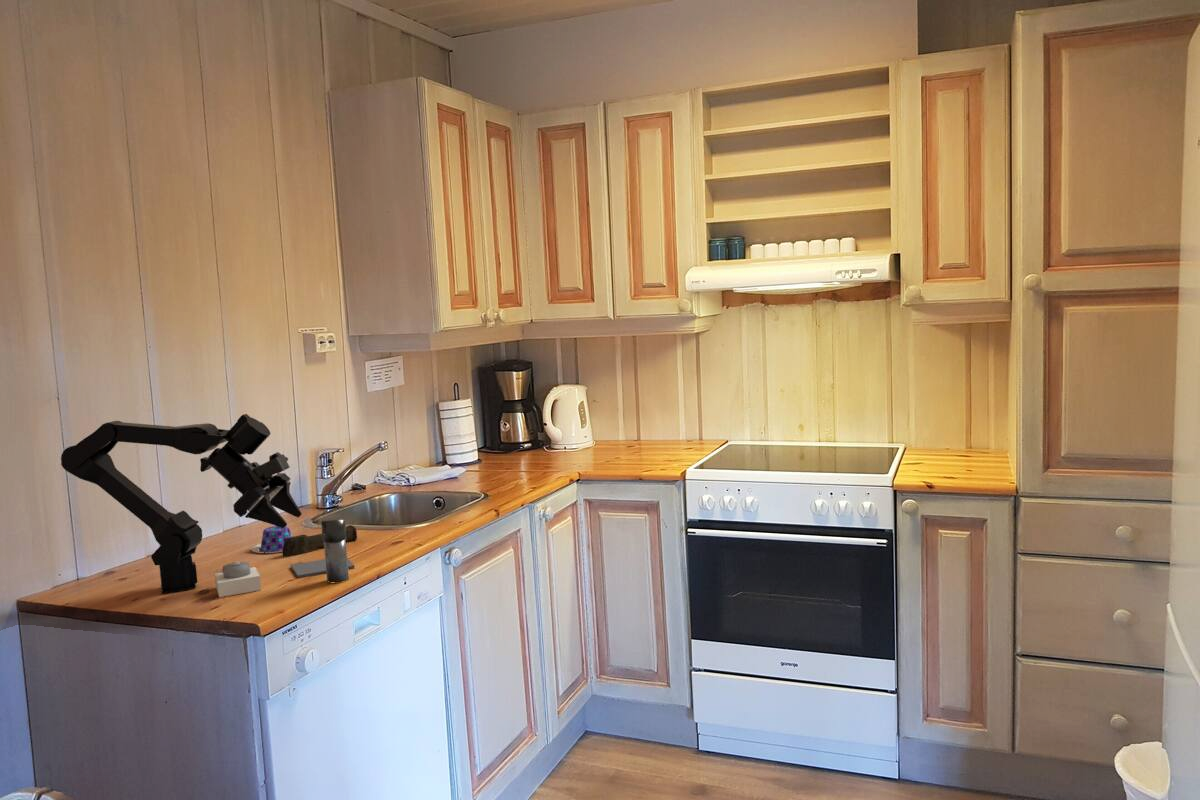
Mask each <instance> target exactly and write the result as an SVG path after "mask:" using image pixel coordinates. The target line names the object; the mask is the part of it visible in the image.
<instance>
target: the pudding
mask: <svg viewBox="0 0 1200 800" xmlns="http://www.w3.org/2000/svg"><path fill="white" fill-rule="evenodd" d="M290 530H291V529H290V528H289V527H288V526H287V525H286V526H285V527H284V528H282V527H279V526H275V525H273V526H269V527H266V528H265V529H263V531H262V536H261V543H259V544H257V545H254V546H253V547H251V551H252V552H254V553H259V554H273V553H274V554H275V553H280V552H282V549H283V546H284V543H285V540H286V539H287V538H290V537H293V535H292V533H291V531H290ZM260 547H261V549H259V551H260V552H259V551H258V548H260ZM261 551H265V553H264V552H261ZM275 551H277V552H275ZM282 553H283V552H282Z"/></svg>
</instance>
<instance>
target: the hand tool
mask: <svg viewBox="0 0 1200 800" xmlns="http://www.w3.org/2000/svg"><path fill="white" fill-rule="evenodd" d="M357 534H358V531H357V529H356V527H355V526H353V525H352V524H350V525H347V526H346V543H347V542H349V541H353V542H356V541H357V539H358V535H357ZM323 547H324V541H323V538H322V533H319V534H315V535H314V534H313V535H307V534H300V535H296V536H295V535H294V536H293V535H292V537H290V538H287V539H286V540H285V543H284V546H283V549H282V557H283V558H284V557H294V556H299V555H304V554H307V553H308V552H309V551H312V550H316V549H320V548H323Z"/></svg>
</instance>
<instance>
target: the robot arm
mask: <svg viewBox="0 0 1200 800" xmlns="http://www.w3.org/2000/svg"><path fill="white" fill-rule="evenodd" d="M270 436H271V431H270V429H269V428H268V426H267V425H266V424H264V422H262V421H259V420H257V419H255V418H254V417H252V416H250V415H248V414H247V413H244V414H242V415H241V416H240V417H239V418H238V419H237V420H236V423H234V424H233V426H232V427H231V428H230V429H221V428H218V427H217V426H216V425H215V424H212V423H206V422H204V423H196V424H187V425H186V424H185V425H180V426H179V425H178V426H170V425H159V424H148V423H137V422H136V423H135V422H123V421H120V420H113V421H109V422H104V423H102V424H101V425H100V426H99V427H98V428H97V429H96V430H94V432H93V431H92V433H90V434H89V435H88V436H86V437H84V438H83V439H82V440H80V441H79V442H78V443H76V444H74V445H70V446H68V447H66V448H65V449H64V450H63V451H62V453H61V457H60V461H61V463H60V465H61V467H62V469H64V471H66V472H67V473H69V474H71V475H73V476H74V477H76V478H77V479H79V480H82V481H85V482H89V483H91V484H94V485H96V486H98V487H100V489H102V490H103V491H104V492H105V493H107V494H108V495H109V496H111V497H112V498H113V499H114V500H115V501H117V502H118V503H119V504H120V505H122V506H123V507H124V508H125V509H126V510H128V511H129V512H130V513H131V514H133V515H134V516H135V517H136V518H137V519H139V520H140V521H141V522H142V523H144V524H145V525H146V526H148V527H149V528H150V530H151V532H152V534H153V537H154V539H155V541H156V542H157V543H158V544H159V547H157V549H156V550H155V551H154V552H153V553H152V554H151V556H150V558H151V560H152V562H153V564H154V566H159V575H160V591H161V594H168V593H174V592H180V591H187V590H191V589H193V590H194V589H196V585H197V583H198V574H197V573H198V572H197V566H196V562H195V561H193V557H192V555H194V554H195V553H196V550H197V547H198V546H199V545H200V544H201V542H202V540H203V530H202V528H201V526H200V525H199V522H200V521H198V520H196V519H194V518H192V517H191V516H190V514H188V512H187V511H185V510H181V511H179V512H177V513H174V512H172V511H169V510H167V509H166V508H165V507H164V506H163V505H161V504H160V503H159V502H157V501H156V500H155V499H154V498H153V497H152V496H150V495H149V494H148V493H146V491H144V490H142V488H140V487H139V486H138V485H137V484H135V483H134V482H133V481H132V480H131V479H129V478H128V477H126V475H124V474H123V473H122V472H121V471H120V470H118V469H117V468H116V466H115V464H114V462H113V459H112V456H111V455H110V454H109V453H110V452H111V451H113V449H114V448H115V447H116V445H117V444H118V443H130V444H143V445H154V446H155V445H156V446H166V447H171V448H173V449H176V450H178V451H180V452H184V453H186V454H187V453H188V454H192V455H201V454H203V453H207V452H211V451H212V450H213V451H212V452H211V453H210V454H209V455H208V456H205V457H202V458H200V459H199V461H200V472H201V473H203V472H206V471H208V470H211V468H213V469H214V470H215V471H216V472H217V473H218V474H219V475H221V477H223V478H224V479H225V480H226V481H227V482H228V484H227V487H228V488H229V489H230V490H231V489H234V488H235V490H237V491H238V492H239V493H240V494H242V495H241V496H240V497H239V498H238V499H237V500H236V501H235V502H234V504H233V505H232V506H233V512H234V513H235V514H236V515H238V516H239V517H240V518H242V517H245V518H246V519H253V520H257V521H260V522H263V523H266V524H269V525H273V526H279V527H282V528H284V527H285V526H286V527H287V526H288V523H287V521H286V520H285V519H284V518H283V516H281V514H280V513H279V512H278V510H280V511H283V512H285V513H287V514H289V515H291V516H294V517H295V518H300V517H301V516H302V515H303V514H302V512H301V510H300V508H299V507H298V504H297V503H296V502H295V500H294V498H293V497H292V494H291V492H290V491H291V490H290V486H291V481H290V480H291V477H290V476H288V475H287V474H286V473H285V472H284V471H285V470H288V469H290V468H291V467H290V465H289V463H288V461H289V457H287V456H285V454H282V453H280V452H275V453H273V454H271V455H269V456H268V457H269V460H268V461H266V462H264V463H262V464H260V463H258V462H256V461H253V462H250V461H249V460H248V459H247V458H245V456H244V455H246V454H247V455H253V454H254V453H255V452H256V451H257V450H258V449H259V447H260V446H261V445H262V444H263V443H265V441H266V440H267V439H268V438H269V437H270ZM224 443H225V444H224ZM220 444H221V445H222V444H224V445H223V446H222V447H218V446H219V445H220ZM277 509H278V510H277Z"/></svg>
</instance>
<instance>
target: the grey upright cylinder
mask: <svg viewBox="0 0 1200 800" xmlns="http://www.w3.org/2000/svg"><path fill="white" fill-rule="evenodd" d="M320 523H321V524H320V525H321V534H322V538H323V541H324V549H323V550H324V559H325V561H326V572H327V573H326V581H329V582H341V583H343V582H342V581H345V582H347V581H349V580H348V579H350V575H349V569H348V562H347V558H348V553H347V542H346V527H347V526H346V518H345V517H343V516H335V517H334V516H331V517H328V518H324V519H322V520H321V521H320ZM346 580H347V581H346Z"/></svg>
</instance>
